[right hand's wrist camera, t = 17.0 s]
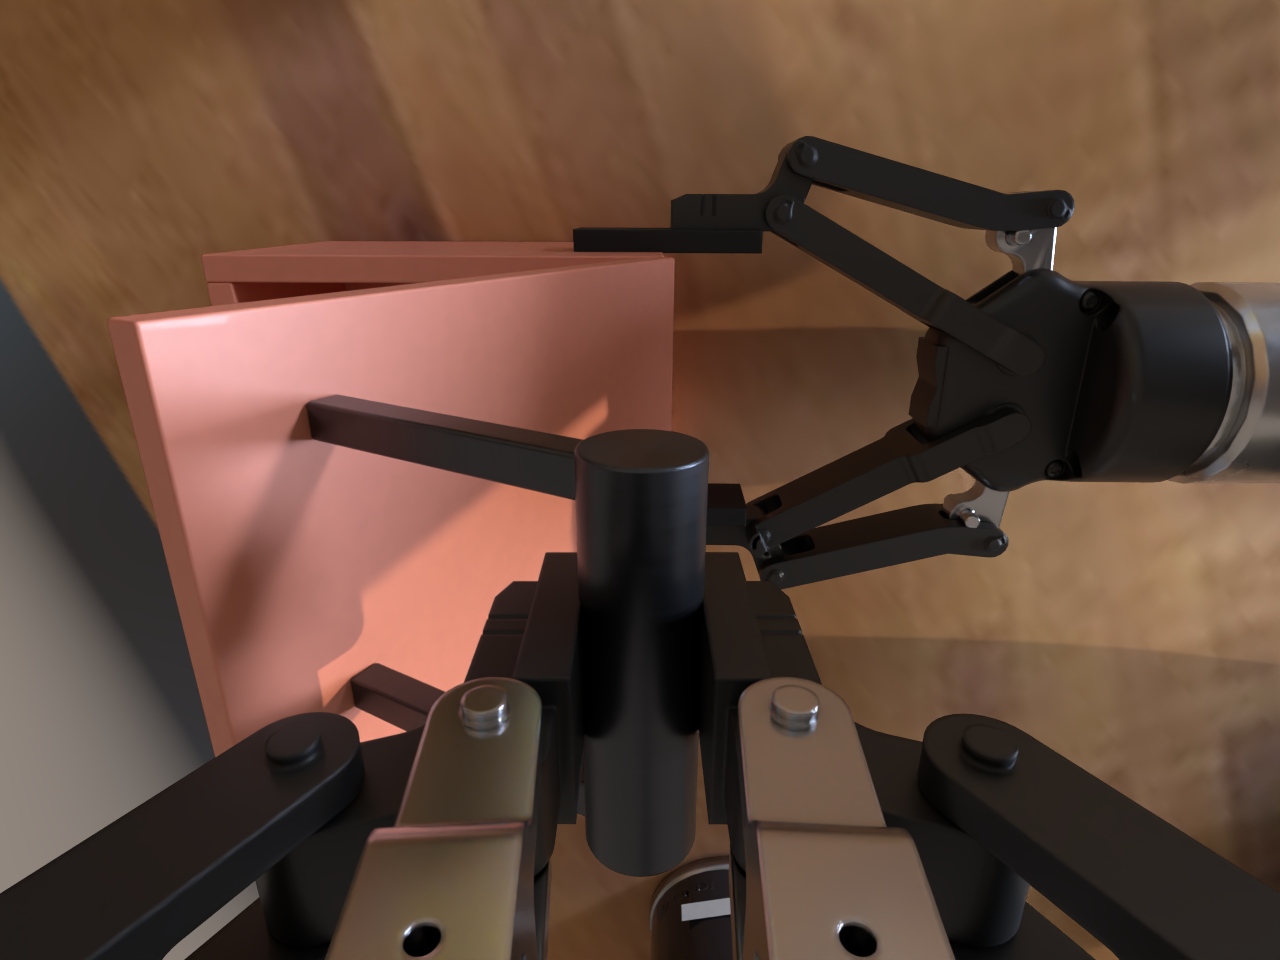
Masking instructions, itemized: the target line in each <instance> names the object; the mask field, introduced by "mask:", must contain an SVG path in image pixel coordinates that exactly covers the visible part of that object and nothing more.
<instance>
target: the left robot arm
mask: <svg viewBox="0 0 1280 960" xmlns="http://www.w3.org/2000/svg"><path fill="white" fill-rule="evenodd" d="M812 184H813V185H816V186H819V187H823V188H826V189H830V190H833V191H836V192H840V193H843V194H847V195H850V196H853V197H857V198H860V199H864V200H867V201H870V202H874V203H877V204H881V205H884V206H887V207H891V208H894V209H898V210H901V211H904V212H908V213H911V214H915V215H918V216H921V217H925V218H928V219H932V220H935V221H938V222H942V223H945V224H949V225H952V226H956V227H961V228H967V229H978V230H986V243H987V245H988V247H989V248H990V249H991V250H993V251H995V252H1000V253H1004V254H1006V255H1008V256H1009V258H1010V259H1011V261H1012V264H1013V270H1011V271H1009V272H1008V273H1006V274H1005V275H1003V276H1002V277H1000V278H999V279H997V280H996V281H994V282H993V283H991V284H989V285H988V286H986V287H985V288H983V289H982V290H980V291H979V292H977V293H976V294H974V295H973V296H971V297H970V298H968V299H967V300H964V299H962V298H961V297H959V296H957V295H956V294H954V293H952V292H950V291H948V290H946V289H944V288H942V287H940V286H938V285H937V284H935V283H933V282H932V281H930V280H928V279H927V278H925V277H924V276H922V275H920V274H919V273H917V272H915V271H914V270H912V269H910V268H909V267H907V266H905V265H904V264H902V263H901V262H899V261H897V260H896V259H894V258H892V257H891V256H889V255H887V254H886V253H884V252H882V251H881V250H879V249H878V248H876V247H874V246H873V245H871V244H869V243H868V242H866V241H864V240H863V239H861V238H860V237H858V236H856V235H855V234H853V233H851V232H850V231H848V230H846V229H845V228H843V227H841V226H840V225H838V224H837V223H835V222H833V221H832V220H830V219H828V218H827V217H825V216H823V215H822V214H820V213H818V212H817V211H815V210H814V209H812V208H810V207H809V206H807V205H805V204H804V201H805V199H806V196H807V194H808V192H809V189H810V187H811V185H812ZM1073 211H1074V200H1073V198H1072V196H1071V194H1069V193H1068V192H1066V191H1063V190H1047V191H1025V192H1014V193H1000V192H997V191H993V190H990V189H987V188H983V187H980V186H977V185H973V184H970V183H967V182H963V181H960V180H957V179H953V178H950V177H947V176H943V175H940V174H936V173H933V172H930V171H926V170H923V169H920V168H916V167H913V166H910V165H906V164H903V163H900V162H896V161H893V160H890V159H886V158H883V157H880V156H876V155H873V154H870V153H866V152H863V151H860V150H856V149H853V148H849V147H846V146H843V145H839V144H836V143H833V142H829V141H826V140H823V139H819V138H816V137H812V136H805V137H802V138H799V139H797V140H795V141H793V142H791V143H789V144H787V145H786V146H785V147H784V148H783V149H782V150H781V152H780V154H779V157H778V163H777V165H776V168H775V170H774V173H773V175H772V178H771V180H770V182H769V184H768V185H767V186H766V188H765V189H764V190H762V191H761V192H759V193H757V194H685V195H683V196H681V197H678V198H676V199H673V200H671V228H577V229H573V243H574V252H662V253H762V238H763V231H770V232H772V233H774V234H775V235H777V236H779V237H780V238H782V239H784V240H785V241H787V242H789V243H790V244H792V245H794V246H795V247H797V248H799V249H800V250H802V251H804V252H805V253H807V254H809V255H810V256H812V257H814V258H815V259H817V260H819V261H820V262H822V263H824V264H826V265H827V266H829V267H831V268H832V269H834V270H836V271H837V272H839V273H841V274H842V275H844V276H846V277H847V278H849V279H851V280H852V281H854V282H856V283H857V284H859V285H861V286H862V287H864V288H866V289H867V290H869V291H871V292H872V293H874V294H876V295H877V296H879V297H881V298H882V299H884V300H886V301H887V302H889V303H891V304H892V305H894V306H896V307H897V308H899V309H901V310H902V311H903V312H905V313H906V314H908V315H910V316H911V317H913V318H915V319H916V320H918V321H920V322H921V323H923V324H925V325H926V326H928V327H930V328H929V329H928V331H927V333H926V334H925V337H919V342H918V349H917V364H918V371H919V378H918V381H917V383H916V386H915V388H914V390H913V393H912V395H911V402H910V409H909V415H910V416H912V417H913V419H910V420H908V421H906V422H904V423H902V424H900V425H898V426H896V427H894V428H892V429H890V430H889V431H888V432H887V433H886V435H885V436H884V437H883V438H881V439H880V440H877V441H875V442H873V443H871V444H869V445H867V446H865V447H863V448H861V449H859V450H857V451H854V452H852V453H850V454H848V455H846V456H844V457H842V458H840V459H838V460H836V461H834V462H831V463H829V464H827V465H825V466H823V467H821V468H819V469H817V470H815V471H813V472H811V473H809V474H806V475H804V476H802V477H800V478H798V479H796V480H794V481H792V482H790V483H788V484H786V485H783V486H781V487H779V488H777V489H775V490H773V491H771V492H769V493H767V494H765V495H763V496H760V497H758V498H756V499H754V500H752V501H750V502H748V503H747V504H746V503H745V500H744V496H743V493H742V490H741V486H740V484H708V495H707V522H706V545H739V546H742V547H745V548H746V549H748V550H749V551H750V553H751V554H752V556H753V559H754V562H755V565H756V568H757V570H758V573H759V576H760V580H761V581H771V582H772V583H773V584H774V585H775V586H777V587H778V588H779V589H780V590H781V589H785V588H790V587H795V586H799V585H804V584H808V583H813V582H818V581H822V580H827V579H832V578H836V577H841V576H846V575H850V574H855V573H859V572H864V571H869V570H873V569H878V568H883V567H887V566H892V565H896V564H901V563H906V562H910V561H915V560H920V559H924V558H929V557H934V556H938V555H943V554H947V553H948V554H959V555H969V556H980V557H996V556H998V555H1001V554H1002V553H1003V552H1004V551H1005V550H1006V548H1007V546H1008V537H1007V535H1006V534H1005V533H1004V532H1003V531H1002V530H1001V529H1000V528H999V525H1000V522H1001V518H1002V515H1003V512H1004V508H1005V505H1006V501H1007V498H1008V494H1009V491H1013V490H1017V489H1019V488H1021V487H1023V486H1025V485H1028V484H1030V483H1033V482H1037V481H1041V480H1055V481H1071V482H1161V481H1165V480H1168V481H1173V482H1178V483H1280V283H1235V282H1205V283H1195V284H1192V285H1187V284H1184V283H1180V282H1123V281H1071V280H1069V279H1067V278H1065V277H1063V276H1062V275H1061V274H1059V273H1058V272H1056V271H1053V270H1052V267H1053V257H1054V247H1055V238H1056V228H1057V227H1059V226H1062V225H1063V224H1065V223H1066V222H1067V221H1068V220H1069V219H1070V217H1071V216H1072V214H1073ZM959 467H961V468H962V469H963V470H964V471H966V472H967V473H968V474H970V475H971V476H972V477H974V478H975V479H976V481H975V484H974V485H973V487H972V488H971V489H969V490H968V491H966V492H964V493H958V494H950V495H947V496H946V497H945V499H944V504H923V505H917V506H911V507H907V508H902V509H898V510H893V511H889V512H884V513H880V514H875V515H871V516H867V517H862V518H858V519H853V520H849V521H844V522H840V523H835V524H831V525H826V526H822V527H818V528H815V527H817V526H820V525H822V524H824V523H826V522H828V521H830V520H833V519H835V518H837V517H839V516H841V515H843V514H846V513H848V512H850V511H852V510H854V509H856V508H858V507H861V506H863V505H865V504H867V503H869V502H871V501H874V500H876V499H878V498H880V497H882V496H884V495H887V494H889V493H891V492H893V491H895V490H897V489H900V488H902V487H904V486H906V485H908V484H911V483H914V482H928V481H931V480H933V479H935V478H938V477H940V476H942V475H944V474H946V473H948V472H951V471H953V470H955V469H957V468H959Z"/></svg>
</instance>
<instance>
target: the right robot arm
mask: <svg viewBox="0 0 1280 960" xmlns="http://www.w3.org/2000/svg"><path fill="white" fill-rule="evenodd" d="M698 729H699V739H700V748H701V757H702V766H703V775H704V784H705V794H706V803H707V812H708V821H709V824H728V830H729V837H730V857H728V856H723V857H710V858H705V859H701V860H697V861H694V862H691V863H688V864H686V865H684V866H682V867H680V868H678V869H677V870H675V871H674V872H672V873H671V874H670V875H668V876H667V877H666V878H665V879H664V880H663V881H662V882H661V883H660V885H659V886H658V887H657V889H656V891H655V893H654V895H653V897H652V900H651V905H650V931H651V960H1095V959H1094V958H1093V957H1092V956H1091V955H1089V954H1088V953H1087V952H1086V951H1085V950H1083V949H1082V948H1081V947H1080V946H1079V945H1077V944H1076V943H1075V942H1074V941H1073V940H1071V939H1070V938H1069V937H1068V936H1067V935H1065V934H1064V933H1063V932H1062V931H1061V930H1059V929H1058V928H1057V927H1056V926H1055V925H1053V924H1052V923H1051V922H1050V921H1049V920H1047V919H1046V918H1045V917H1044V916H1043V915H1041V914H1040V913H1039V912H1038V911H1037V910H1035V909H1034V908H1033V907H1032V906H1031V905H1029V904H1028V903H1027V902H1026V897H1027V893H1028V889H1029V885H1031V886H1032V887H1034V888H1035V889H1036V890H1037V891H1038V892H1040V893H1041V894H1042V895H1043V896H1045V897H1046V898H1047V899H1048V900H1050V901H1051V902H1052V903H1053V904H1055V905H1056V906H1057V907H1058V908H1059V909H1061V910H1062V911H1063V912H1064V913H1066V914H1067V915H1068V916H1069V917H1071V918H1072V919H1073V920H1074V921H1076V922H1077V923H1078V924H1079V925H1080V926H1082V927H1083V928H1084V929H1085V930H1087V931H1088V932H1089V933H1090V934H1092V935H1093V936H1094V937H1095V938H1097V939H1098V940H1099V941H1100V942H1102V943H1103V944H1104V945H1105V946H1106V947H1107V948H1109V949H1110V950H1111V951H1112V952H1113V953H1114V954H1115V955H1116V956H1117V957H1118V958H1119V960H1280V893H1278V892H1277V891H1275V890H1273V889H1272V888H1270V887H1269V886H1267V885H1266V884H1264V883H1262V882H1261V881H1259V880H1258V879H1256V878H1254V877H1253V876H1251V875H1250V874H1248V873H1247V872H1245V871H1243V870H1242V869H1240V868H1239V867H1237V866H1235V865H1234V864H1232V863H1231V862H1229V861H1228V860H1226V859H1224V858H1223V857H1221V856H1220V855H1218V854H1216V853H1215V852H1213V851H1212V850H1210V849H1209V848H1207V847H1205V846H1204V845H1202V844H1201V843H1199V842H1198V841H1196V840H1194V839H1193V838H1191V837H1190V836H1188V835H1186V834H1185V833H1183V832H1182V831H1180V830H1179V829H1177V828H1175V827H1174V826H1172V825H1171V824H1169V823H1167V822H1166V821H1164V820H1163V819H1161V818H1160V817H1158V816H1156V815H1155V814H1153V813H1152V812H1150V811H1148V810H1147V809H1145V808H1144V807H1142V806H1141V805H1139V804H1137V803H1136V802H1134V801H1133V800H1131V799H1130V798H1128V797H1126V796H1125V795H1123V794H1122V793H1120V792H1118V791H1117V790H1115V789H1114V788H1112V787H1111V786H1109V785H1107V784H1106V783H1104V782H1103V781H1101V780H1099V779H1098V778H1096V777H1095V776H1093V775H1092V774H1090V773H1088V772H1087V771H1085V770H1084V769H1082V768H1080V767H1079V766H1077V765H1076V764H1074V763H1073V762H1071V761H1069V760H1068V759H1066V758H1065V757H1063V756H1062V755H1060V754H1058V753H1057V752H1055V751H1054V750H1052V749H1050V748H1049V747H1047V746H1046V745H1044V744H1043V743H1041V742H1039V741H1038V740H1036V739H1035V738H1033V737H1031V736H1030V735H1028V734H1027V733H1025V732H1023V731H1022V730H1020V729H1018V728H1016V727H1014V726H1012V725H1010V724H1008V723H1005V722H1003V721H1000V720H997V719H994V718H990V717H986V716H981V715H974V714H952V715H947V716H943V717H941V718H938V719H936V720H935V721H933V722H932V723H931V724H930V725H929V726H928V727H927V728H926V730H925V732H924V738H923V742H920V741H916V740H911V739H907V738H902V737H897V736H893V735H888V734H885V733H881V732H877V731H874V730H871V729H869V728H866V727H864V726H862V725H860V724H857V723H855V722H854V720H853V717H852V714H851V711H850V709H849V707H848V705H847V704H846V703H845V701H844V700H843V699H842V698H841V697H840V696H839V695H837V694H836V693H835V692H833V691H832V690H830V689H829V688H827V687H825V686H823V685H822V684H821V681H820V678H819V676H818V673H817V670H816V668H815V665H814V662H813V660H812V657H811V654H810V652H809V649H808V646H807V644H806V641H805V638H804V636H803V635H802V630H801V628H800V625H799V622H798V620H797V619H796V614H795V612H794V609H793V606H792V604H791V601H790V598H789V597H788V596H787V595H786V594H785V593H784V592H782V591H781V590H780V589H779V588H778V587H777V586H775V585H774V584H773V583H772V582H771V581H746V578H745V575H744V571H743V568H742V564H741V561H740V557H739V554H738V552H705V577H704V598H703V612H702V641H701V669H700V698H699V726H698ZM584 739H585V719H584V688H583V656H582V624H581V603H580V601H579V597H578V566H577V552H546V553H545V556H544V560H543V564H542V567H541V571H540V575H539V578H538V581H513V582H512V583H511V584H509V585H508V586H507V587H506V588H505V589H504V590H502V591H501V592H500V593H499V594H498V595H497V596H496V597H495V598H494V601H493V604H492V606H491V609H490V612H489V615H488V619H487V620H486V623H485V626H484V628H483V634H482V635H481V637H480V639H479V642H478V645H477V647H476V650H475V653H474V656H473V658H472V661H471V664H470V667H469V669H468V672H467V675H466V678H465V680H464V683H462V684H459V685H457V686H455V687H453V688H451V689H450V690H448V691H447V692H445V693H444V694H442V695H441V696H440V697H439V698H438V699H437V700H436V701H435V703H434V704H433V705H432V707H431V709H430V711H429V714H428V717H427V720H426V723H425V725H423V726H421V727H419V728H416V729H413V730H411V731H407V732H404V733H400V734H396V735H391V736H387V737H382V738H378V739H373V740H369V741H364V742H360V738H359V732H358V729H357V727H356V725H355V724H354V723H353V722H352V721H351V720H349V719H348V718H346V717H344V716H341V715H339V714H334V713H329V712H310V713H303V714H298V715H294V716H290V717H287V718H284V719H281V720H278V721H276V722H273V723H271V724H269V725H267V726H265V727H263V728H262V729H260V730H258V731H256V732H255V733H253V734H252V735H250V736H249V737H247V738H245V739H244V740H242V741H241V742H239V743H237V744H236V745H234V746H233V747H231V748H230V749H228V750H226V751H225V752H223V753H222V754H220V755H219V756H217V757H215V758H214V759H212V760H211V761H209V762H207V763H206V764H204V765H203V766H201V767H200V768H198V769H196V770H195V771H193V772H192V773H190V774H189V775H187V776H185V777H184V778H182V779H181V780H179V781H177V782H176V783H174V784H173V785H171V786H169V787H168V788H166V789H165V790H163V791H162V792H160V793H158V794H157V795H155V796H154V797H152V798H151V799H149V800H147V801H146V802H144V803H143V804H141V805H139V806H138V807H136V808H135V809H133V810H132V811H130V812H128V813H127V814H125V815H124V816H122V817H120V818H119V819H117V820H116V821H114V822H113V823H111V824H109V825H108V826H106V827H105V828H103V829H102V830H100V831H98V832H97V833H95V834H94V835H92V836H90V837H89V838H87V839H86V840H84V841H83V842H81V843H79V844H78V845H76V846H75V847H73V848H72V849H70V850H68V851H67V852H65V853H64V854H62V855H60V856H59V857H57V858H56V859H54V860H52V861H51V862H49V863H48V864H46V865H45V866H43V867H41V868H40V869H38V870H37V871H35V872H34V873H32V874H30V875H29V876H27V877H26V878H24V879H22V880H21V881H19V882H18V883H16V884H15V885H13V886H11V887H10V888H8V889H7V890H5V891H3V892H2V893H0V960H162V959H163V958H164V957H165V955H166V954H167V953H168V952H169V951H170V950H171V949H172V948H173V947H174V946H175V945H176V944H177V943H179V942H180V941H181V940H182V939H183V938H185V937H186V936H187V935H188V934H190V933H191V932H192V931H193V930H195V929H196V928H197V927H198V926H199V925H201V924H202V923H203V922H204V921H206V920H207V919H208V918H209V917H211V916H212V915H213V914H214V913H216V912H217V911H218V910H219V909H221V908H222V907H223V906H224V905H225V904H227V903H228V902H229V901H230V900H232V899H233V898H234V897H235V896H237V895H238V894H239V893H240V892H241V891H243V890H244V889H245V888H246V887H248V886H249V885H250V884H251V883H253V882H254V881H256V885H257V889H258V893H259V898H258V899H257V900H255V901H254V902H253V903H252V904H251V905H249V906H248V907H247V908H246V909H245V910H243V911H242V912H241V913H240V914H239V915H237V916H236V917H235V918H234V919H233V920H231V921H230V922H229V923H228V924H227V925H225V926H224V927H223V928H222V929H221V930H219V931H218V932H217V933H216V934H215V935H214V936H212V937H211V938H210V939H209V940H207V941H206V942H205V943H204V944H203V945H202V946H200V947H199V948H198V949H197V950H196V951H194V952H193V953H192V954H191V955H189V956H188V957H187V958H186V959H185V960H547V948H548V929H549V910H550V891H551V858H550V857H551V855H552V853H553V849H554V845H555V837H556V830H557V824H576V817H577V807H578V798H579V788H580V778H581V768H582V758H583V748H584Z"/></svg>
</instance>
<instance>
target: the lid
mask: <svg viewBox="0 0 1280 960" xmlns="http://www.w3.org/2000/svg"><path fill="white" fill-rule="evenodd" d="M674 266H675V259H674V258H673V257H647V258H638V259H629V260H620V261H611V262H602V263H593V264H584V265H575V266H566V267H558V268H549V269H540V270H531V271H522V272H513V273H504V274H495V275H486V276H477V277H468V278H459V279H450V280H441V281H432V282H424V283H415V284H406V285H397V286H388V287H379V288H370V289H361V290H352V291H343V292H334V293H325V294H316V295H307V296H298V297H290V298H281V299H272V300H263V301H254V302H245V303H236V304H227V305H218V306H209V307H200V308H191V309H182V310H173V311H164V312H156V313H147V314H138V315H129V316H120V317H111V318H110V319H108V321H107V323H108V327H109V331H110V335H111V339H112V343H113V347H114V351H115V356H116V360H117V364H118V368H119V372H120V376H121V380H122V384H123V388H124V392H125V396H126V400H127V404H128V408H129V412H130V416H131V420H132V424H133V428H134V432H135V436H136V440H137V444H138V448H139V452H140V456H141V460H142V464H143V468H144V472H145V476H146V480H147V484H148V488H149V492H150V496H151V500H152V504H153V508H154V512H155V516H156V520H157V524H158V529H159V533H160V537H161V541H162V545H163V549H164V553H165V557H166V561H167V565H168V569H169V573H170V577H171V581H172V585H173V589H174V593H175V597H176V601H177V605H178V609H179V613H180V617H181V621H182V625H183V629H184V633H185V637H186V641H187V645H188V649H189V653H190V657H191V661H192V665H193V669H194V673H195V677H196V681H197V685H198V689H199V693H200V697H201V701H202V705H203V710H204V713H205V718H206V722H207V726H208V730H209V734H210V738H211V742H212V745H213V750H214V754H215V757H217V756H219V755H220V754H222V753H223V752H225V751H226V750H228V749H230V748H231V747H233V746H234V745H236V744H237V743H239V742H241V741H242V740H244V739H245V738H247V737H249V736H250V735H252V734H253V733H255V732H256V731H258V730H260V729H262V728H263V727H265V726H267V725H269V724H271V723H273V722H276V721H278V720H281V719H284V718H287V717H290V716H294V715H298V714H303V713H310V712H329V713H334V714H339V715H341V716H344V717H346V718H348V719H349V720H351V721H352V722H353V723H354V724H355V725H356V727H357V729H358V732H359V738H360V742H364V741H369V740H373V739H378V738H382V737H387V736H391V735H396V734H400V733H404V732H407V731H411V730H413V729H416V728H419V727H421V726H423V725H425V723H426V720H427V717H428V714H429V711H430V709H431V707H432V705H433V704H434V703H435V701H436V700H437V699H438V698H439V697H440V696H441V695H442V694H444V693H445V692H447V691H448V690H450V689H451V688H453V687H455V686H457V685H459V684H462V683H464V680H465V678H466V675H467V672H468V669H469V667H470V664H471V661H472V658H473V656H474V653H475V650H476V647H477V645H478V642H479V639H480V637H481V635H482V634H483V628H484V626H485V623H486V620H487V619H488V615H489V612H490V609H491V606H492V604H493V601H494V598H495V597H496V596H497V595H498V594H499V593H500V592H501V591H502V590H504V589H505V588H506V587H507V586H508V585H509V584H511V583H512V582H513V581H538V578H539V575H540V571H541V567H542V564H543V560H544V556H545V553H546V552H577V566H578V597H579V601H580V603H581V624H582V656H583V688H584V719H585V739H584V748H583V758H582V768H581V778H580V788H579V798H578V807H577V813H579V814H581V815H583V816H585V824H586V839H587V842H588V846H589V848H590V849H591V851H592V853H593V854H594V856H595V857H596V858H597V859H598V860H599V861H600V862H601V863H602V864H603V865H605V866H606V867H608V868H609V869H611V870H613V871H615V872H618V873H621V874H624V875H629V876H638V877H643V876H652V875H657V874H661V873H663V872H666V871H668V870H670V869H672V868H674V867H675V866H676V865H678V864H679V863H680V862H681V861H682V860H683V859H684V858H685V857H686V856H687V854H688V853H689V851H690V849H691V848H692V845H693V842H694V838H695V822H696V795H697V768H698V740H699V729H698V726H699V698H700V669H701V641H702V612H703V598H704V577H705V549H706V522H707V495H708V467H709V451H708V448H707V446H706V445H705V444H704V443H703V442H702V441H700V440H698V439H697V438H694V437H692V436H688V435H685V434H681V433H677V432H672V379H673V323H674Z"/></svg>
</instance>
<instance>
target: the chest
mask: <svg viewBox="0 0 1280 960" xmlns="http://www.w3.org/2000/svg"><path fill="white" fill-rule="evenodd" d="M647 257H664V253H662V252H574V243H573V242H498V241H324V242H315V243H305V244H296V245H286V246H277V247H267V248H258V249H248V250H239V251H230V252H220V253H211V254H203V255H201V258H202V263H203V268H204V273H205V278H206V281H207V282H209V283H207V288H208V293H209V298H210V303H211V306H218V305H227V304H236V303H245V302H254V301H263V300H272V299H281V298H290V297H298V296H307V295H316V294H325V293H334V292H343V291H352V290H361V289H370V288H379V287H388V286H397V285H406V284H415V283H424V282H432V281H441V280H450V279H459V278H468V277H477V276H486V275H495V274H504V273H513V272H522V271H531V270H540V269H549V268H558V267H566V266H575V265H584V264H593V263H602V262H611V261H620V260H629V259H638V258H647Z"/></svg>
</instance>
